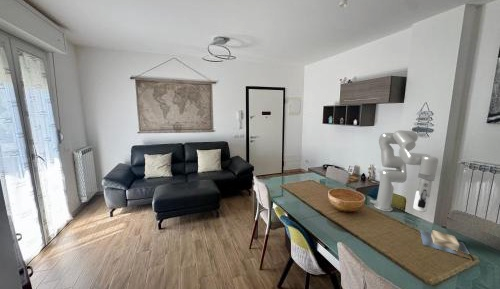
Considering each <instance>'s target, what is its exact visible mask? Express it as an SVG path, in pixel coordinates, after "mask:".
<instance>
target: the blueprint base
mask: <svg viewBox="0 0 500 289" xmlns="http://www.w3.org/2000/svg"><path fill="white" fill-rule="evenodd" d="M420 233H421V234H420ZM419 234H420V237H421V240H422V245H423V246H425V247H428V248H432V249H434V248H435V250H437V249H439V250H438V251H440V250H443V251H446V252H445V253H447V252H450V253H454V254H457V252H455V251H453V250H456V251H458V249H460V250H461V251H463V252H465V253H468V254H470V255H471V253H470V252H469V250H468V249H467V246H466V245H465V244H464V242H462V241H459V240H458V239H457V238H456V236H455V235H453V234H448V233H444V232H441V231H437V230H435V229H432V230H431V232H428V231H426V230H425V231H424V230H422V229H420V230H419ZM443 251H442V252H443ZM450 253H449V254H450ZM459 255H460V254H459Z"/></svg>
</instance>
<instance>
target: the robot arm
mask: <svg viewBox="0 0 500 289" xmlns="http://www.w3.org/2000/svg"><path fill="white" fill-rule="evenodd" d="M418 139H419V136H418V134H417V132H415V131H413V130H402V129H400V130H399V129H398V130H395V131H394V132H383V133H381V134H380V135H379V138H378V145H379V148H380V152H381V153H380V154H381V156H380V157H381V160H380V161H381V165H382V167H383V168H386V169H382V170H381V171H380V172H379V186H378V192H377V197H376V200H373V199H370V200H369V202H370V203H372V204H373V207H374V208H376V209H378V210H380V211H383V212H392V211H393V208H392V207H391V206H392V200H393V195H394V190H395V189H394V185H393V184H392V183H398V184H399V183H401V184H402V183H405V182H406V181H407V178H408V177H407V174H408V173H407V165H409V166H419V169H418V175H417V178H418V179H419V182H418V189H417V190H419V195H420V200H419V202H418V207H422V208H425V204H426V196H427V197H428V198H429V199H430V197H431V191H432V184H433V182H435V178H436V175H437V169H438V164H439V158H438V157H436V156H431V155H429V154H428V153H419V152H418V153H417V152H416V153H415V152H410V151H412V150H414V149H415V147H416V144H417V143H416V142H417V141H418ZM392 145H398V146H399V147H400V148H399V152H398V153H399V155H397V156H396V155H395V150H394V148H393V146H392ZM387 168H388V169H387ZM421 194H423V196H422V195H421Z"/></svg>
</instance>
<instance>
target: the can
mask: <svg viewBox="0 0 500 289" xmlns="http://www.w3.org/2000/svg"><path fill="white" fill-rule="evenodd" d="M421 195H422V196H423V194H421ZM413 200H414V201H413V206H412V208H413V209H414V210H415V211H418V212H421V213H426V212H427V210H428V206H429V202H430V201H429V200H430V197H429V198H428V197H427V196H426V204H425V208H422V207H418V202H419V200H420V195H419V190H418V189H417V190H416V191H415V195H414V199H413Z"/></svg>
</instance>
